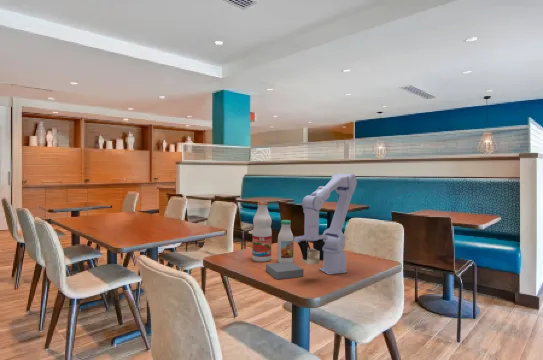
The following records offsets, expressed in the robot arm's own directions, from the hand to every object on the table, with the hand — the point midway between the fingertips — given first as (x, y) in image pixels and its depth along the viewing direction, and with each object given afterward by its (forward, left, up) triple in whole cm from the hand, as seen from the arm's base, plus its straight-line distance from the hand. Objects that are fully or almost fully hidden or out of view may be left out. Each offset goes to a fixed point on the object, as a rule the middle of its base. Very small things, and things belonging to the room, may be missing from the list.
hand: (310, 258), depth 132 cm
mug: (-20, -28, -8) cm, 35 cm away
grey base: (+7, -10, -8) cm, 15 cm away
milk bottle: (-1, -26, -8) cm, 27 cm away
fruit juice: (+8, -34, -8) cm, 36 cm away
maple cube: (0, 0, -1) cm, 1 cm away
